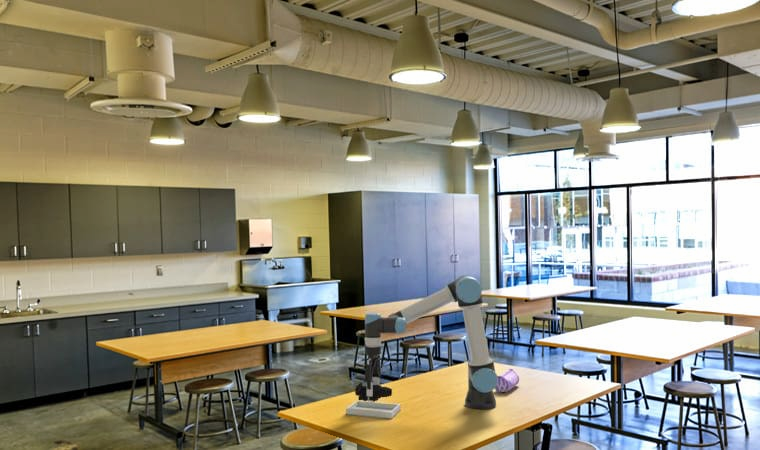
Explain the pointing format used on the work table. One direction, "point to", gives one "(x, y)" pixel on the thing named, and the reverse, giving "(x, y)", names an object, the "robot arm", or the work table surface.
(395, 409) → the tray
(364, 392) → the night vision scope
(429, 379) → the work table surface
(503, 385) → the pencil case
